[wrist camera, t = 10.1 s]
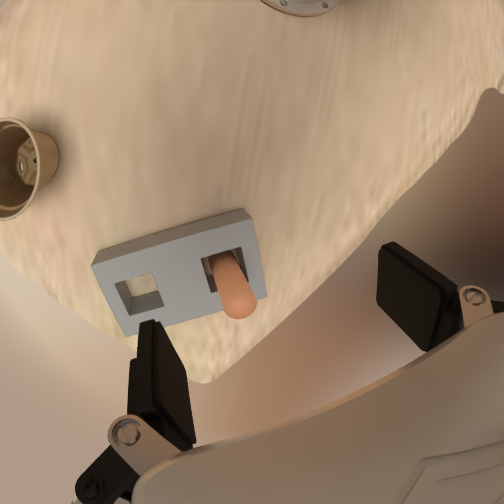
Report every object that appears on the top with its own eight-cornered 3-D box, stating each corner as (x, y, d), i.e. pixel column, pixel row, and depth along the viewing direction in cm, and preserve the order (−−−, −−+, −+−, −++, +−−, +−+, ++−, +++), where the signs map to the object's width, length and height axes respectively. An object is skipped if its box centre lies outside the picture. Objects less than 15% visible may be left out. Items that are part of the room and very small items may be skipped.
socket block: (243, 208, 34) (252, 218, 30) (258, 280, 38) (267, 296, 35) (98, 251, 31) (90, 265, 27) (128, 318, 35) (125, 337, 32)
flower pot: (-4, 156, 22) (-45, 168, 15) (46, 102, 22) (10, 95, 15) (33, 215, 27) (-1, 240, 19) (86, 164, 27) (58, 175, 19)
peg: (229, 241, 35) (253, 286, 25) (234, 263, 36) (259, 313, 27) (205, 248, 34) (220, 296, 25) (211, 269, 36) (228, 322, 26)
